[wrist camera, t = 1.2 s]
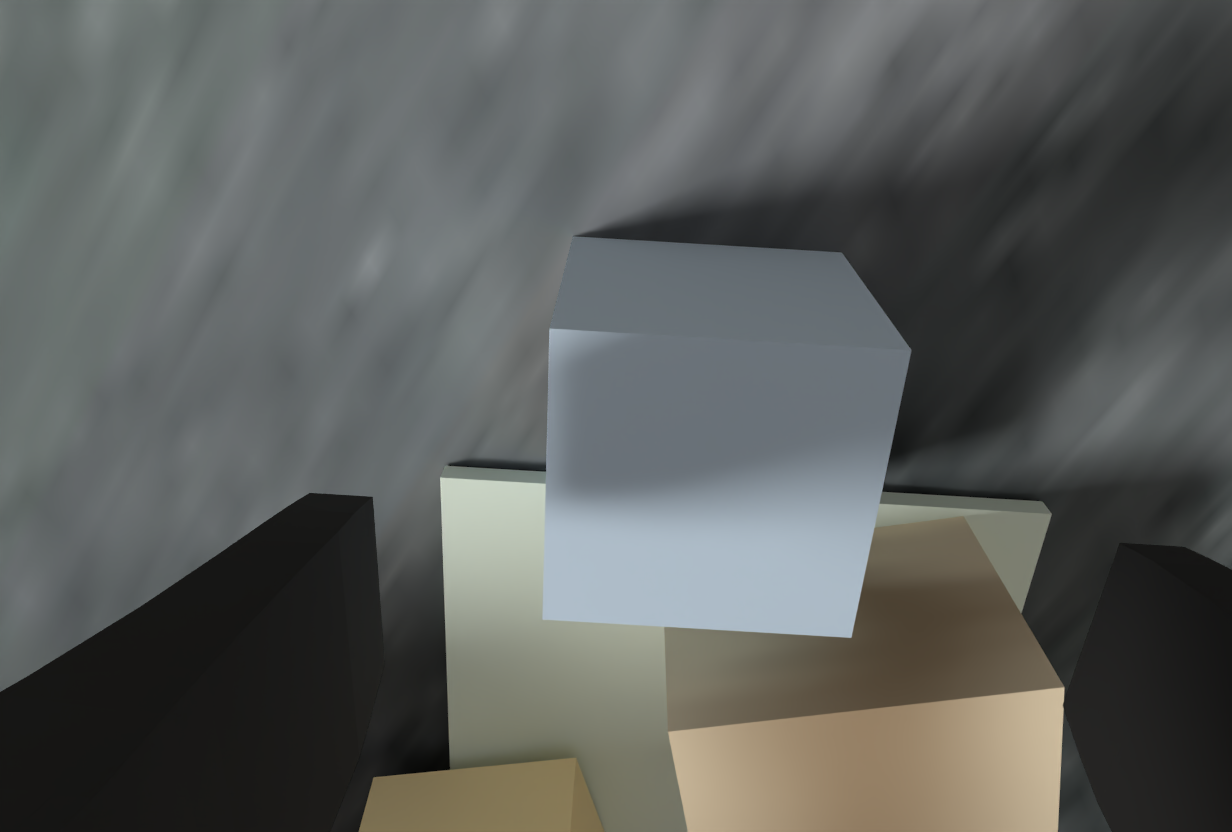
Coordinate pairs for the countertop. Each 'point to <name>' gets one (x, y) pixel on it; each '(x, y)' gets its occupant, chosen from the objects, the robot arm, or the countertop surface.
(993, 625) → the maple block
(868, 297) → the blue block
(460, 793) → the ochre block
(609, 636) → the plate
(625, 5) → the countertop surface
